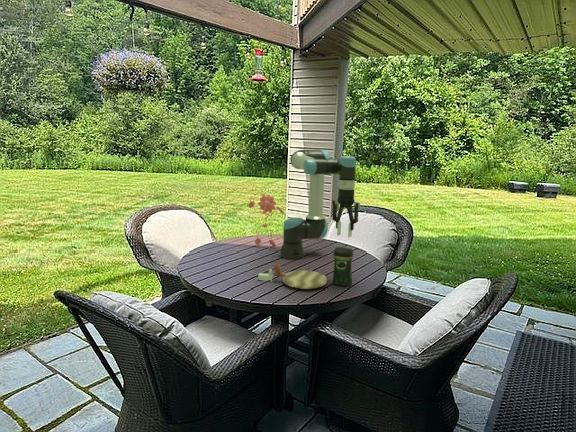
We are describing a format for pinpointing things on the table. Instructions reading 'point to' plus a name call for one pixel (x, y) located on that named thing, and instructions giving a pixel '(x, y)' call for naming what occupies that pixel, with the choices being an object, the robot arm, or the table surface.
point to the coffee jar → (342, 266)
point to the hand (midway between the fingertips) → (344, 235)
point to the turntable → (301, 278)
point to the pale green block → (266, 276)
